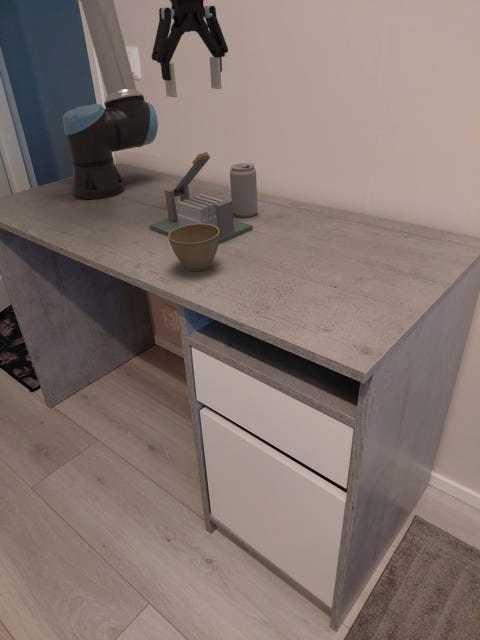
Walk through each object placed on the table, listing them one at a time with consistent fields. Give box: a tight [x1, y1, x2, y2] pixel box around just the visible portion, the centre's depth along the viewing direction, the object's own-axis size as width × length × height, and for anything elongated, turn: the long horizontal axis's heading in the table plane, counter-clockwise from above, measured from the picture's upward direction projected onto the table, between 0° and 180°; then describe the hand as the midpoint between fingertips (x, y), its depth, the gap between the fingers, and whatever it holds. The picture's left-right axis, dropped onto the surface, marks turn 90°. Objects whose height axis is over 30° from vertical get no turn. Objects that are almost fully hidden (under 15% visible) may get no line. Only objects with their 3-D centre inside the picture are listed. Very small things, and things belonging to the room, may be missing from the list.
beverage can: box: [229, 162, 259, 218], centre depth 116 cm, size 6×6×12 cm
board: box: [149, 185, 254, 245], centre depth 110 cm, size 20×15×8 cm
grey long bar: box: [172, 151, 211, 198], centre depth 107 cm, size 16×3×2 cm
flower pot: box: [167, 223, 220, 272], centre depth 93 cm, size 10×10×7 cm
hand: (195, 92), depth 109 cm, fingers open, 13 cm apart
